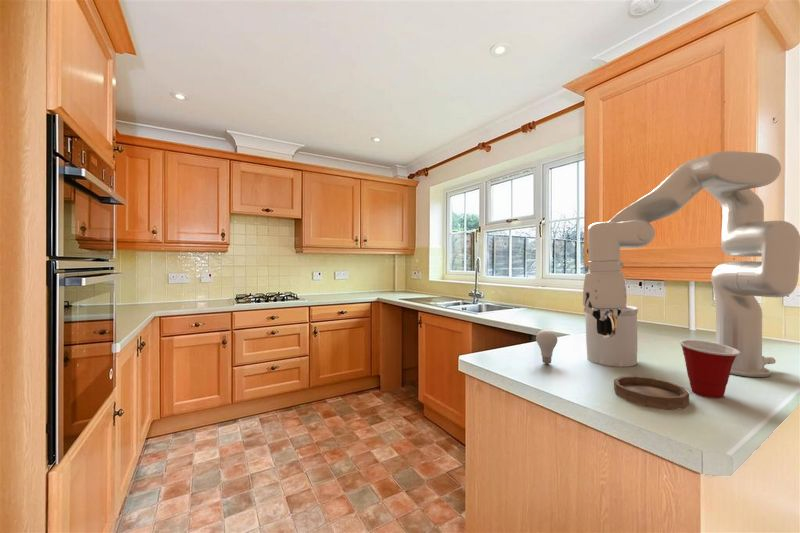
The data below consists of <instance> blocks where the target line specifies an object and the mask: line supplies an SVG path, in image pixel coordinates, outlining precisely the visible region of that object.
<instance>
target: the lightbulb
mask: <svg viewBox="0 0 800 533" xmlns="http://www.w3.org/2000/svg"><path fill="white" fill-rule="evenodd" d="M535 340H536V343H537V345H538V346H539V349H540V353H541V360H542V363H543V364H545V365H549V364H552V357H553V352H554V350H555V347H556V346H557V344H558V337H557V335H556V333H555V332H554V331H553V330H550V329H542V330H540V331H538V333H536V337H535Z"/></svg>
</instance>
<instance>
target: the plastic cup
mask: <svg viewBox="0 0 800 533" xmlns="http://www.w3.org/2000/svg"><path fill="white" fill-rule="evenodd" d="M679 344H680V346H681V349H682V353H683V356H684V363H685V367H686V374H687V378H688V381H689V385H690V389H691V391H692V393H693V394H695V395H698V396H701V397H705V398H711V399H722V398H724V396H725V393H726V388H727V385H728V382H729V380H730V375H731V374H730V371H731V367H732V364H733V362H734V360H735V357H736V356H737V355H739V353H740V351H738V350H737V349H734V348H732V347H729V346H725V345H721V344H717V343H716V342H712V341H711V342H710V341H707V340H705V341H704V340H696V339H694V340H693V339H683V340H682V339H681V340H680V341H679Z"/></svg>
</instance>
